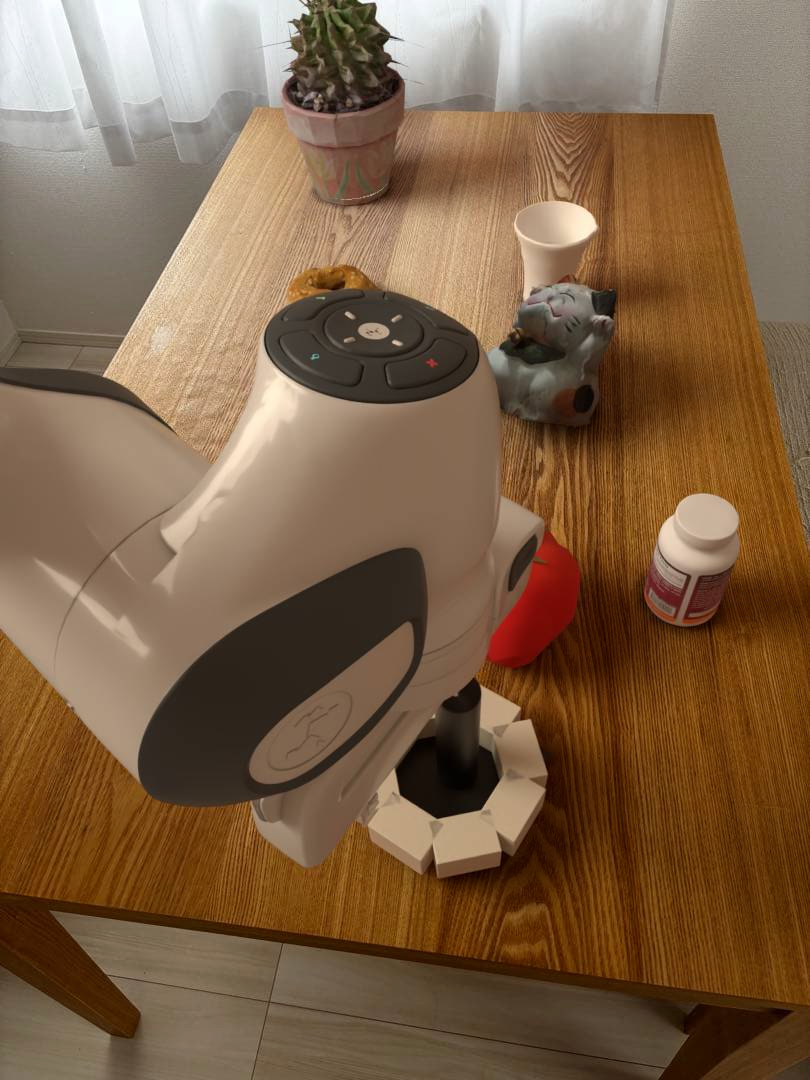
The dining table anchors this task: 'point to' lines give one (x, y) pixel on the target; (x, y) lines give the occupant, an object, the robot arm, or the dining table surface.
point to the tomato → (538, 607)
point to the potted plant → (344, 99)
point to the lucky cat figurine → (555, 353)
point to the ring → (476, 833)
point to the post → (451, 761)
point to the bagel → (328, 281)
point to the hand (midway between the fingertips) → (407, 742)
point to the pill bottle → (693, 560)
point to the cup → (552, 241)
